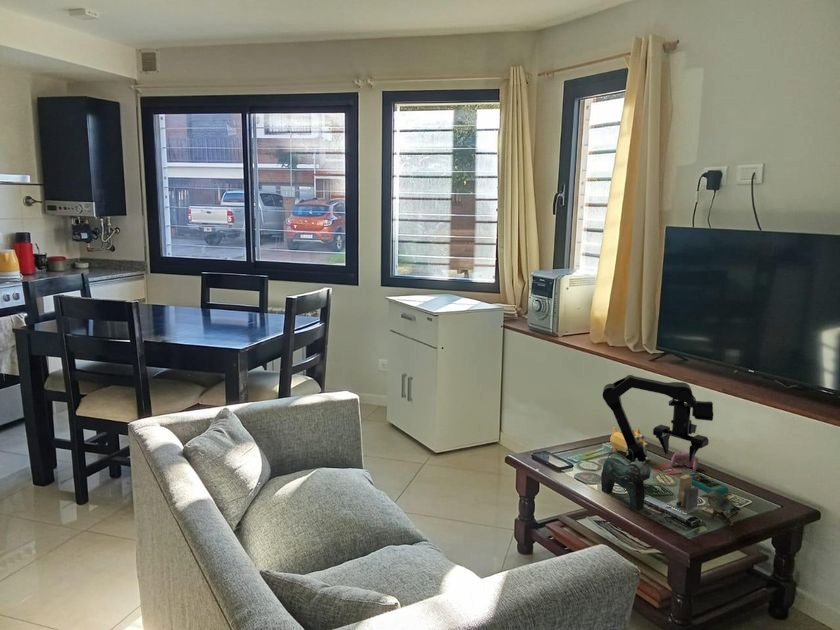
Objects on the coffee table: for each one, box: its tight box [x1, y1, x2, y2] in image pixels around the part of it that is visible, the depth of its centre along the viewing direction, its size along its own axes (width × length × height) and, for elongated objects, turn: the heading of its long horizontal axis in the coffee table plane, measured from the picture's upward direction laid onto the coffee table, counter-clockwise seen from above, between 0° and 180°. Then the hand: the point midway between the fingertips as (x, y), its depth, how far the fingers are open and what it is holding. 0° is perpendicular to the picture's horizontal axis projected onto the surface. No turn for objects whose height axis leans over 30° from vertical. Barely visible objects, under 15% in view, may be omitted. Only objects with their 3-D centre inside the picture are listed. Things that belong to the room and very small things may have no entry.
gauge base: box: [666, 486, 700, 514], centre depth 223 cm, size 7×7×8 cm
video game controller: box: [670, 451, 699, 472], centre depth 257 cm, size 10×5×7 cm, turn 58°
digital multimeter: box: [688, 472, 729, 496], centre depth 239 cm, size 7×15×3 cm, turn 25°
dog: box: [609, 426, 650, 455], centre depth 267 cm, size 8×20×13 cm, turn 28°
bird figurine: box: [700, 491, 742, 527], centre depth 214 cm, size 13×10×20 cm
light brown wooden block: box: [676, 474, 692, 506], centre depth 222 cm, size 2×6×10 cm, turn 122°
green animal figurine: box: [600, 449, 652, 512], centre depth 227 cm, size 20×6×20 cm, turn 26°
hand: (678, 458), depth 236 cm, fingers open, 9 cm apart
